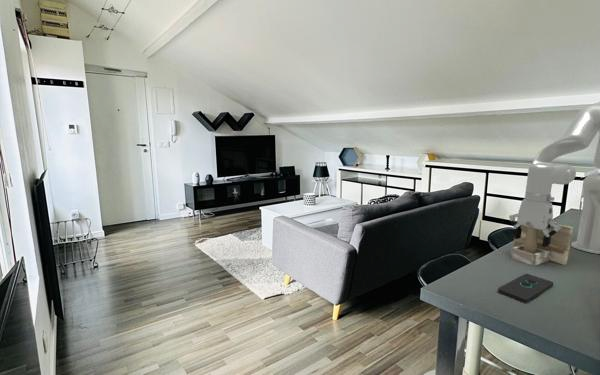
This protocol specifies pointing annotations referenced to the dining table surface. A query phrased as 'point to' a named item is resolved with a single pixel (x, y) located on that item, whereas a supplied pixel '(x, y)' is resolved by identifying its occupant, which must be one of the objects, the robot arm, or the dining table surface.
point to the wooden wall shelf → (552, 252)
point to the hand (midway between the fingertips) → (530, 242)
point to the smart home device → (525, 288)
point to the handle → (531, 239)
